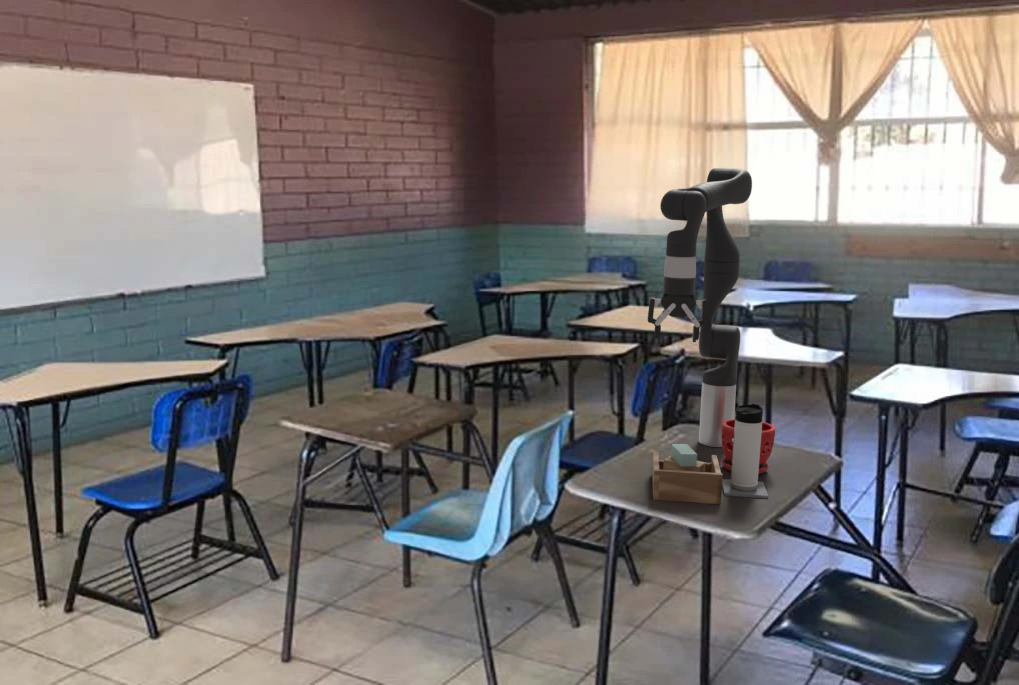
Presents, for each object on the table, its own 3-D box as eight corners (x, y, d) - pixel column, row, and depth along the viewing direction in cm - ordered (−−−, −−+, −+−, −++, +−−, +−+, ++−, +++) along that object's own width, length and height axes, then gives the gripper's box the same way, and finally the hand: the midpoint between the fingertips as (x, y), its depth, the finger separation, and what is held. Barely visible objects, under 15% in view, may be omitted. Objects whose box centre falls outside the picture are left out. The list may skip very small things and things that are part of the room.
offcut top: (686, 455, 238) (686, 443, 237) (696, 466, 230) (697, 454, 229) (671, 455, 238) (671, 444, 237) (680, 466, 229) (681, 454, 229)
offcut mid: (669, 467, 238) (670, 455, 238) (704, 474, 233) (705, 462, 233) (663, 471, 235) (663, 459, 234) (698, 478, 230) (699, 466, 230)
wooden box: (652, 474, 240) (653, 447, 239) (715, 478, 238) (716, 451, 237) (653, 499, 223) (654, 470, 222) (720, 504, 221) (722, 474, 220)
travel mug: (762, 486, 231) (768, 406, 227) (749, 493, 226) (755, 411, 222) (738, 480, 235) (744, 401, 231) (725, 487, 230) (731, 406, 226)
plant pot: (773, 479, 239) (777, 433, 236) (719, 475, 241) (722, 429, 239) (770, 463, 251) (773, 419, 249) (719, 459, 254) (721, 415, 251)
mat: (721, 481, 236) (721, 479, 236) (762, 484, 235) (763, 481, 235) (724, 495, 227) (724, 493, 226) (768, 498, 225) (768, 495, 225)
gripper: (708, 274, 234) (704, 339, 237) (649, 272, 235) (646, 337, 239) (711, 277, 226) (707, 345, 230) (650, 275, 228) (646, 342, 231)
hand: (676, 341), depth 234 cm, fingers open, 8 cm apart
